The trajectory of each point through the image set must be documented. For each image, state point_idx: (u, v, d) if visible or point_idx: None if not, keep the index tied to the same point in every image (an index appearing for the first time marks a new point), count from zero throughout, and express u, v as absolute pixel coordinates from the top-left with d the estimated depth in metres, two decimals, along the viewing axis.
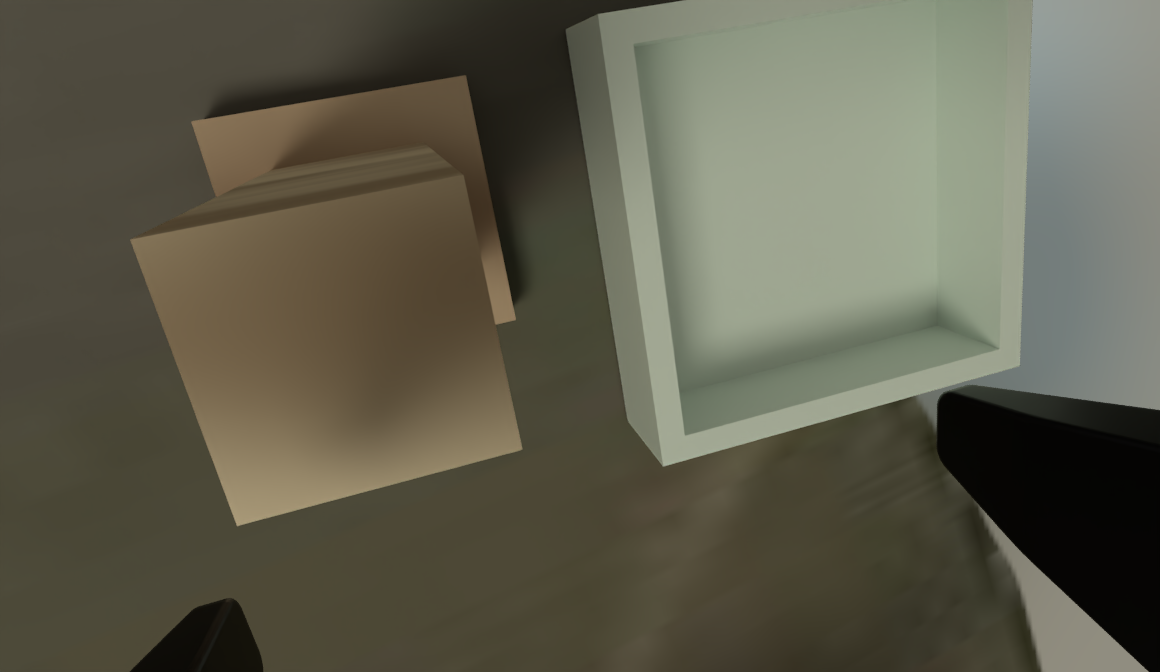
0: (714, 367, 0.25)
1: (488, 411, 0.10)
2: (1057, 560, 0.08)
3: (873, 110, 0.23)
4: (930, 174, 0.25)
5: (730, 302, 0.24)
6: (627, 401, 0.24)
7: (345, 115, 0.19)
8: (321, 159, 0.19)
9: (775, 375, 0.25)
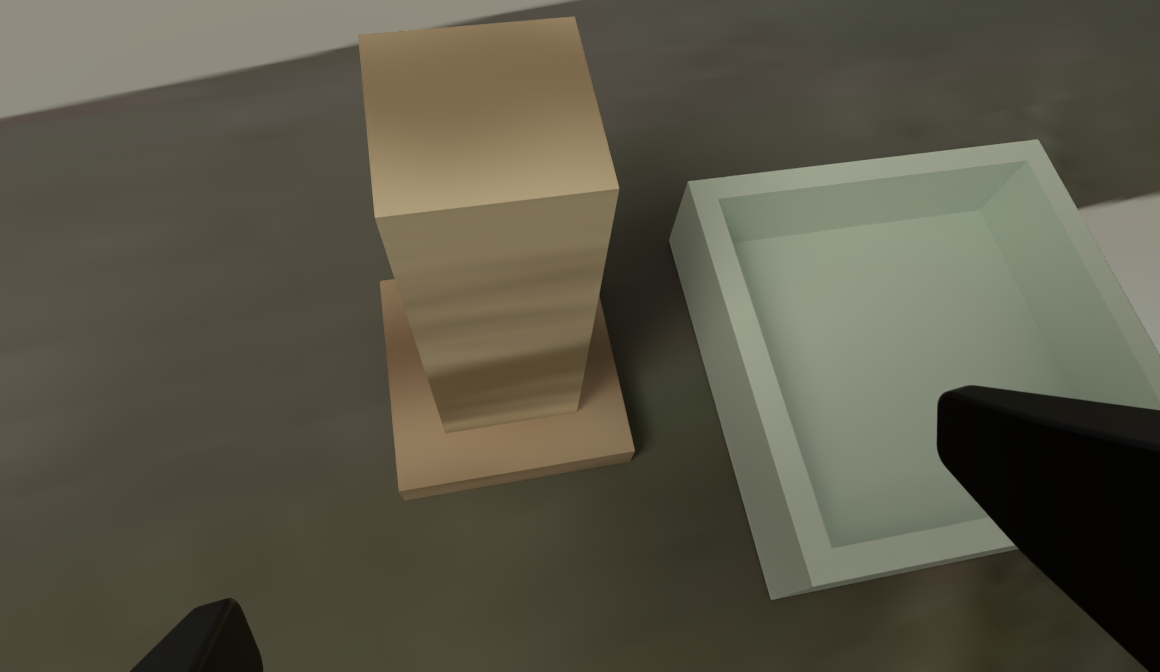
0: (861, 529, 0.22)
1: (589, 157, 0.12)
2: (1057, 560, 0.08)
3: (955, 289, 0.26)
4: (1038, 342, 0.25)
5: (861, 457, 0.23)
6: (766, 567, 0.22)
7: None
8: None
9: None
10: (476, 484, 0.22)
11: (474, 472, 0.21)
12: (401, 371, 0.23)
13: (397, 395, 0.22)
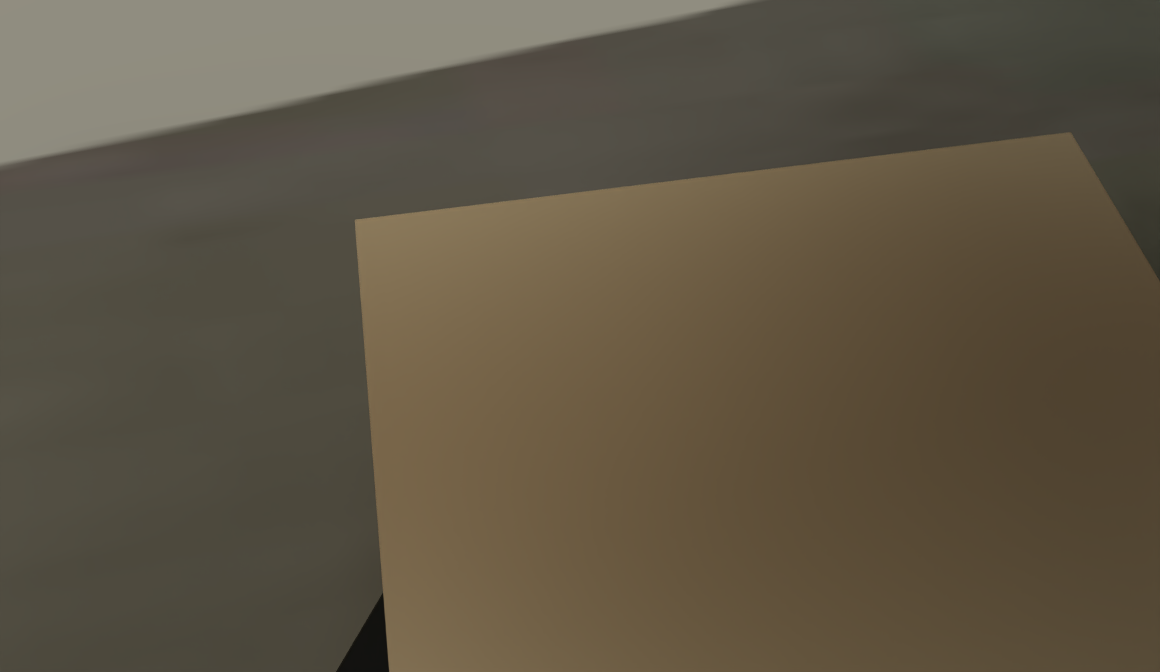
0: None
1: None
2: None
3: None
4: None
5: None
6: None
7: None
8: None
9: None
10: None
11: None
12: None
13: None
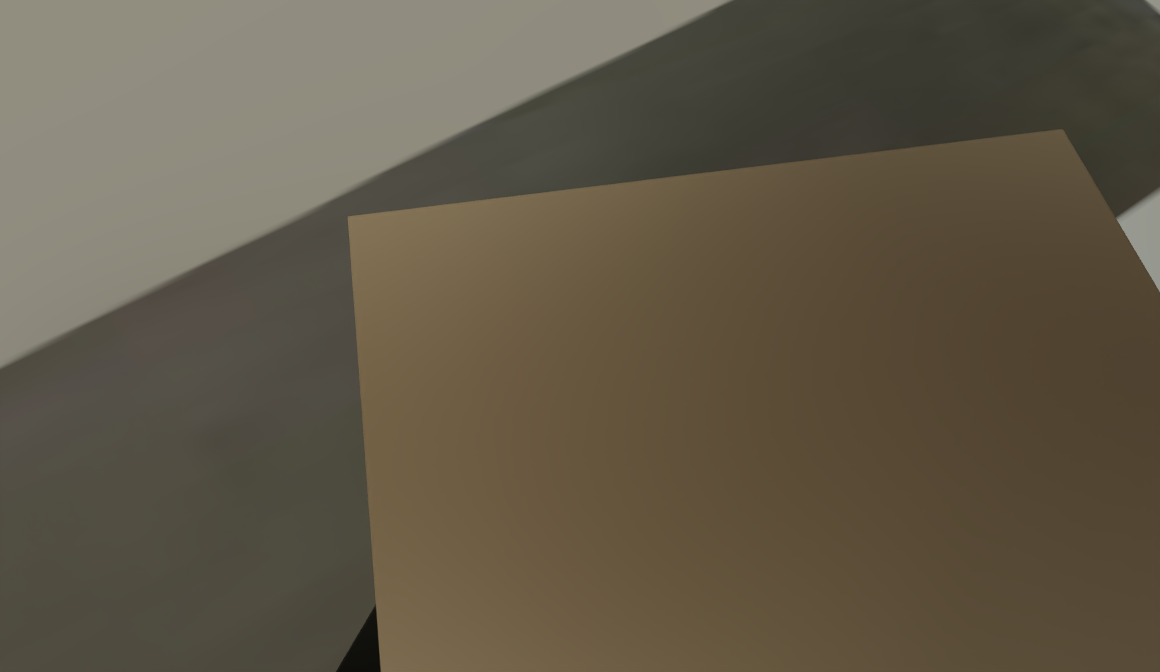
0: None
1: None
2: None
3: None
4: None
5: None
6: None
7: None
8: None
9: None
10: None
11: None
12: None
13: None
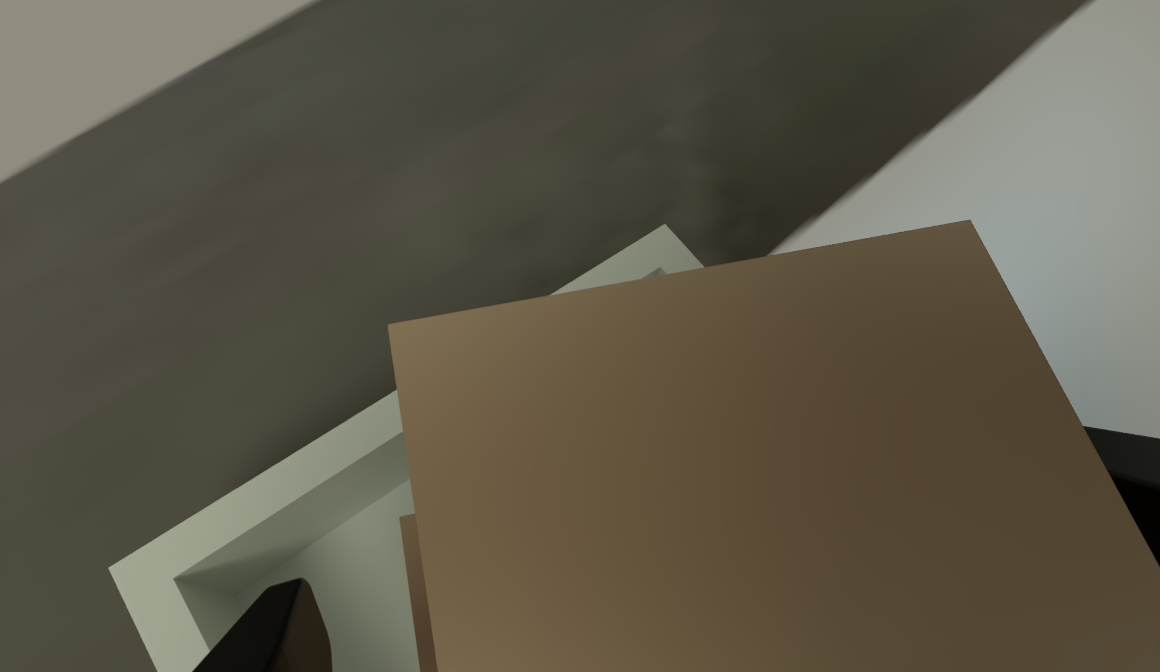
0: None
1: None
2: None
3: None
4: None
5: None
6: None
7: None
8: None
9: None
10: None
11: None
12: None
13: None
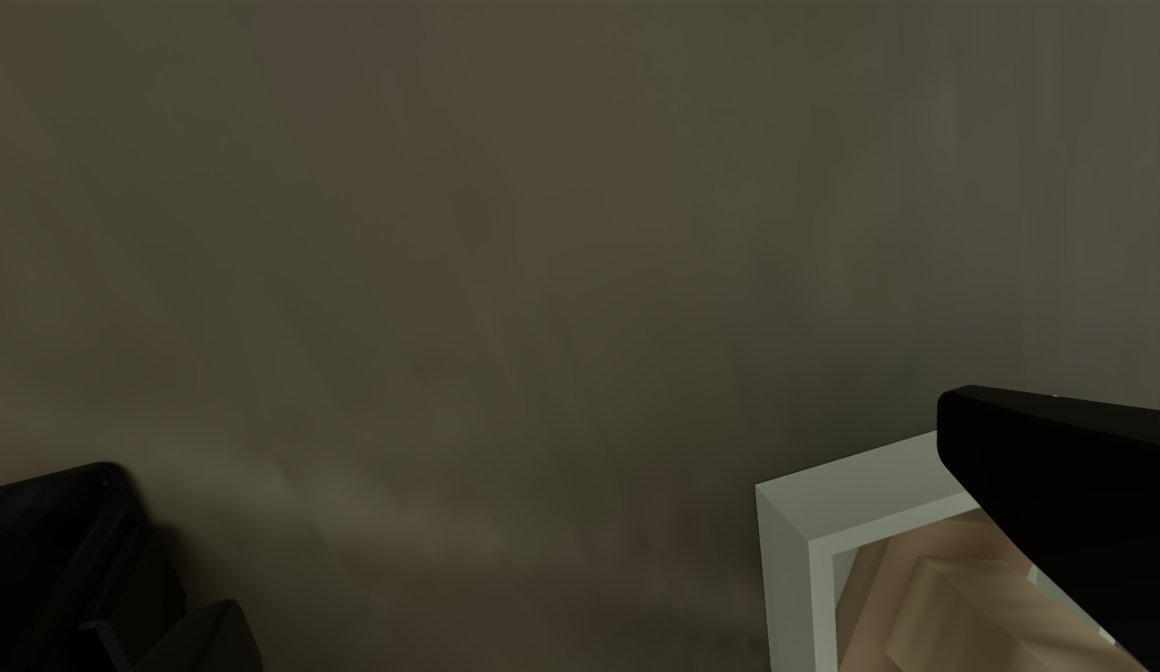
0: None
1: None
2: (1057, 560, 0.08)
3: None
4: None
5: None
6: (783, 483, 0.26)
7: None
8: None
9: None
10: (866, 557, 0.27)
11: (882, 570, 0.26)
12: (977, 532, 0.27)
13: (962, 526, 0.26)
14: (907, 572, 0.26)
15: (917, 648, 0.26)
